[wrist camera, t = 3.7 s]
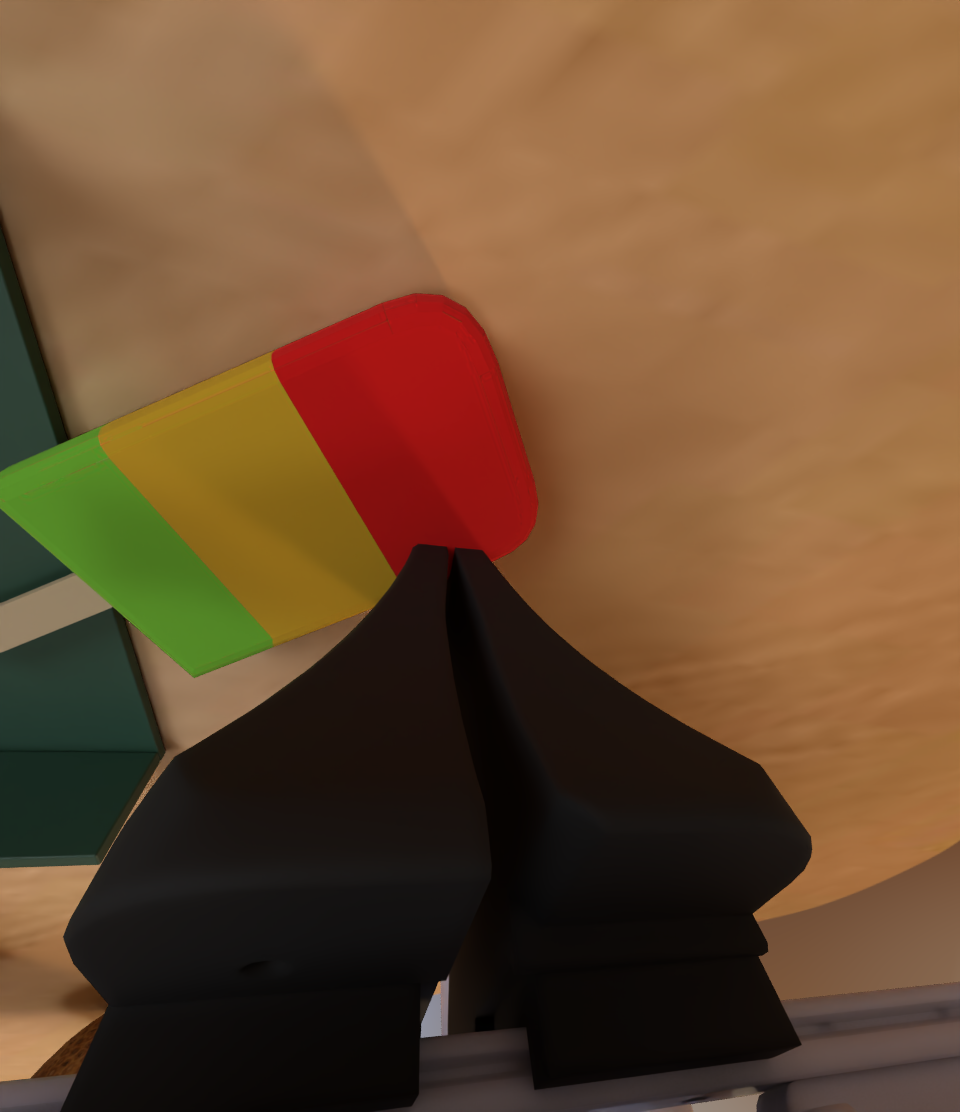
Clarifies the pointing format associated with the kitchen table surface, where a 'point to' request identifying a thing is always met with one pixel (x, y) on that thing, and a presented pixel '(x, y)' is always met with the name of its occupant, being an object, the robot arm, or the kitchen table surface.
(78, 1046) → the natural sponge
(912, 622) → the kitchen table surface
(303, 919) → the robot arm
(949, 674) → the kitchen table surface
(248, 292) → the kitchen table surface
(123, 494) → the popsicle
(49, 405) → the dustpan
